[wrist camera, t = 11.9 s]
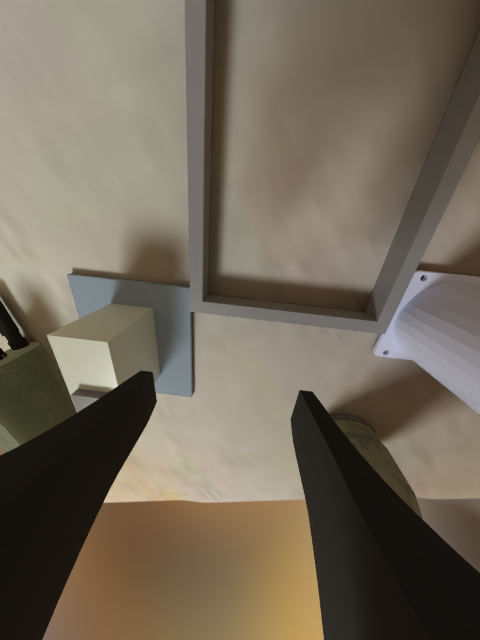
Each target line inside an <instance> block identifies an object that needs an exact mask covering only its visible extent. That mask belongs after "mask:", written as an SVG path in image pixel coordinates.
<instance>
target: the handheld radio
mask: <svg viewBox="0 0 480 640" xmlns="http://www.w3.org/2000/svg"><path fill="white" fill-rule="evenodd" d="M19 331H20V330H19V329H18V327H17V326H16V324H15V323H14V321H13V319H12V318H11V316H10V315H9V313H8V312H7V310H6V308H5V307H4V305H3V304H2V302H1V301H0V333H1V335H2V336H5V337H6V339H7V340H8V345H9V346H10V347H11V349H9V350H7V351H5V352H4V351H3V350H2V349H1V348H0V445H1V446H2V447H3V448H4V449H5V450H6V451H7V452H8V451H10V450H12V449H14V448H16V447H18V446H20V445H22V444H24V443H26V442H28V441H29V440H31V439H33V438H35V437H37V436H38V435H40V434H42V433H44V432H46V431H47V430H49V429H51V428H53V427H54V426H56V425H58V424H60V423H61V422H63V421H65V420H66V419H68V418H69V417H71V416H73V415H74V414H76V413H77V411H76V408H75V406H74V403H73V401H72V398H71V396H70V393H69V391H68V388H67V385H66V383H65V381H64V379H63V378H62V376H61V375H60V373H59V371H58V370H57V368H56V367H55V365H54V364H53V362H52V360H51V359H50V357H49V356H48V354H47V352H46V351H45V349H44V348H43V346H42V345H41V344H40V343H39V342H28V341H27V340H26V338H25V337H22V335H21V334H20V332H19Z"/></svg>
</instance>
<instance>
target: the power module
mask: <svg viewBox="0 0 480 640" xmlns="http://www.w3.org/2000/svg"><path fill="white" fill-rule="evenodd" d="M47 337H48V340H49V342H50V345H51V347H52V350H53V352H54V355H55V357H56V360H57V363H58V365H59V368H60V370H61V373H62V375H63V378H64V380H65V383H66V385H67V388H68V391H69V393H70V396H71V398H72V401H73V403H74V406H75V408H76V411H77V412H79V411H81V410H82V409H84V408H85V407H87V406H89V405H90V404H92V403H93V402H95V401H96V400H98V399H99V398H101V397H102V396H104V395H105V394H107V393H108V392H110V391H111V390H113V389H114V388H116V387H117V386H119V385H120V384H121V383H123V382H124V381H126V380H127V379H129V378H130V377H132V376H133V375H135V374H136V373H138V372H139V371H141V370H142V371H150V372H153V377H154V384H155V383H156V381H157V380H158V378H159V377H160V368H159V359H158V350H157V341H156V332H155V323H154V314H153V308H147V307H139V306H130V305H121V304H112V303H110V304H108V305H106V306H104V307H102V308H100V309H98V310H96V311H94V312H92V313H90V314H88V315H86V316H84V317H82V318H80V319H78V320H76V321H74V322H72V323H70V324H68V325H66V326H64V327H62V328H60V329H58V330H56V331H54V332H52V333H50V334H48V335H47Z"/></svg>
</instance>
